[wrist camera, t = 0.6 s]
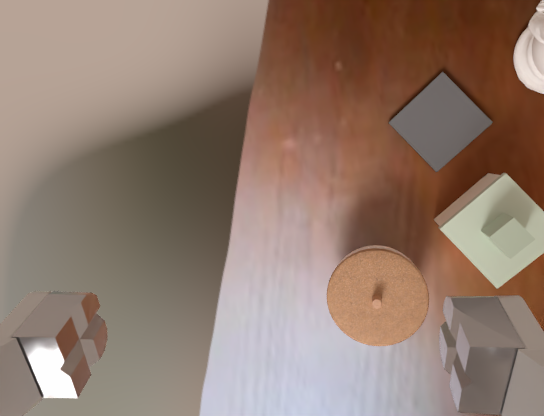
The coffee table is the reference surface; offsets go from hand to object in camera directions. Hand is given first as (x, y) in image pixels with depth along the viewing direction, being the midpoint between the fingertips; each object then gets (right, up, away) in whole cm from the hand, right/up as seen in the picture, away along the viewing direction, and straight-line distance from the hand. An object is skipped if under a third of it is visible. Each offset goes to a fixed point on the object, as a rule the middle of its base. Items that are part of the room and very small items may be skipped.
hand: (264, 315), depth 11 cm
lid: (+24, 0, +36) cm, 43 cm away
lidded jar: (+13, -6, +46) cm, 48 cm away
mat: (+20, +12, +42) cm, 48 cm away
